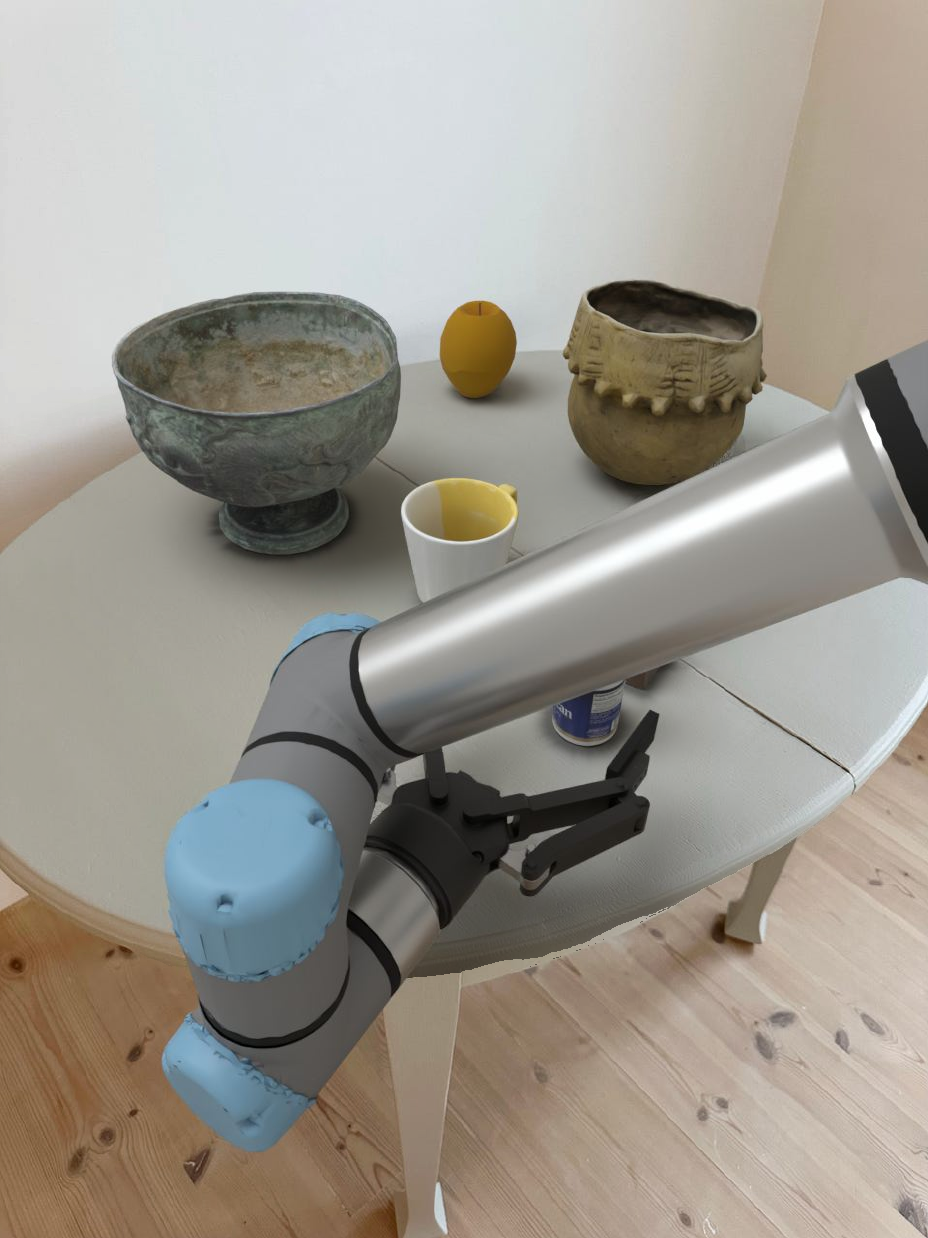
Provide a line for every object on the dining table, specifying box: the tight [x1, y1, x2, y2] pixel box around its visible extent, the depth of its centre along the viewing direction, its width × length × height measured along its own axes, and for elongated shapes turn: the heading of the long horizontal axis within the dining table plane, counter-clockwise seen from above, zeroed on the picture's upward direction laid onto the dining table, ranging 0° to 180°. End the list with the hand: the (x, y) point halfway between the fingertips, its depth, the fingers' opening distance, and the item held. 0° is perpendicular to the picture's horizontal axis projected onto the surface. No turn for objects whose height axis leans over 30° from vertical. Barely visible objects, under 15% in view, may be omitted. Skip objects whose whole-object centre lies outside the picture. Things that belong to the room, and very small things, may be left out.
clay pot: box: [562, 278, 768, 486], centre depth 102 cm, size 21×21×20 cm
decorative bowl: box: [111, 291, 402, 555], centre depth 94 cm, size 26×26×20 cm
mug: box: [400, 477, 519, 603], centre depth 88 cm, size 14×10×10 cm
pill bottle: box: [551, 679, 626, 747], centre depth 75 cm, size 5×5×10 cm
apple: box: [439, 300, 518, 399], centre depth 119 cm, size 10×10×12 cm
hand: (568, 686), depth 71 cm, fingers open, 13 cm apart
